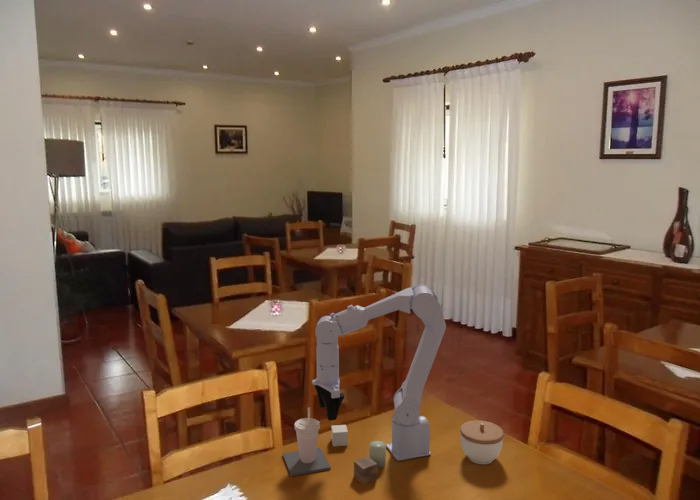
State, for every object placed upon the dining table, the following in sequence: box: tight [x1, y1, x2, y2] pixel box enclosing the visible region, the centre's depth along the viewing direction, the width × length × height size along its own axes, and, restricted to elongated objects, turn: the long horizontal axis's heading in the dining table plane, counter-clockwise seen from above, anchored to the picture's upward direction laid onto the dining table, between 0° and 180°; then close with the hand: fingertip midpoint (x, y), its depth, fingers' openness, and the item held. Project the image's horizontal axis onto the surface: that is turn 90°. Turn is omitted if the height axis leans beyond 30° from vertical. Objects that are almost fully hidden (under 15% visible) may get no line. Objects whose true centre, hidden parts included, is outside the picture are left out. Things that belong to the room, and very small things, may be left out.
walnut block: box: [353, 456, 378, 485], centre depth 134 cm, size 4×4×4 cm
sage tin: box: [369, 440, 387, 469], centre depth 140 cm, size 4×4×5 cm
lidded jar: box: [459, 419, 505, 465], centre depth 142 cm, size 11×11×9 cm
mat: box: [282, 446, 332, 477], centre depth 141 cm, size 10×10×1 cm
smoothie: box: [294, 406, 321, 463], centre depth 140 cm, size 6×6×14 cm
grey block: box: [330, 424, 349, 447], centre depth 151 cm, size 4×4×4 cm
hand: (328, 412), depth 145 cm, fingers open, 7 cm apart
